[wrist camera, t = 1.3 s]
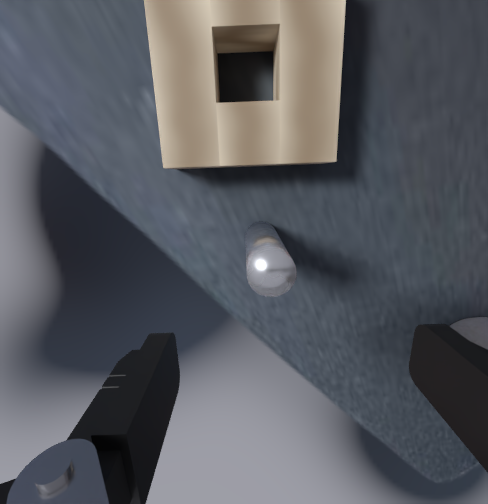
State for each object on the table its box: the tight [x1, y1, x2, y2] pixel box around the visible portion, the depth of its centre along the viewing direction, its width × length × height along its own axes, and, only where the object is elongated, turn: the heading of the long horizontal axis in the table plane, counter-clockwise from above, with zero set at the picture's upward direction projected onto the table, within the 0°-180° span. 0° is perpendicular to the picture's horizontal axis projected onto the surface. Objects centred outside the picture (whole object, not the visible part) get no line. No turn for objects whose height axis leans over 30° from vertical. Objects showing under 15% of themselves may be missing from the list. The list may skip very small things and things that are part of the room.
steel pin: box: [246, 221, 297, 297], centre depth 21 cm, size 3×3×10 cm
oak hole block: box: [144, 0, 346, 169], centre depth 20 cm, size 13×13×4 cm
